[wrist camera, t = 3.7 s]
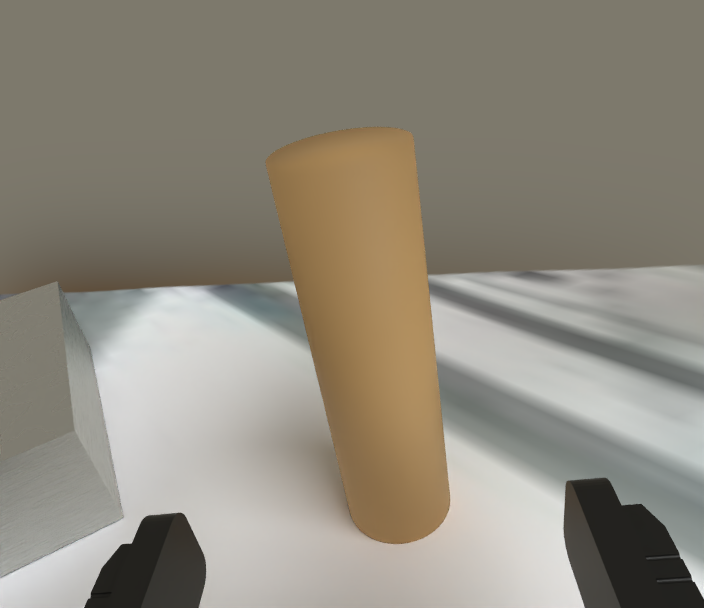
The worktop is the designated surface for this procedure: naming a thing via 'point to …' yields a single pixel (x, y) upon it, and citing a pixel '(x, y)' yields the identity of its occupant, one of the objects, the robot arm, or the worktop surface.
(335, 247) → the pin
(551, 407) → the worktop surface
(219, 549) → the worktop surface
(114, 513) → the grey flat block
